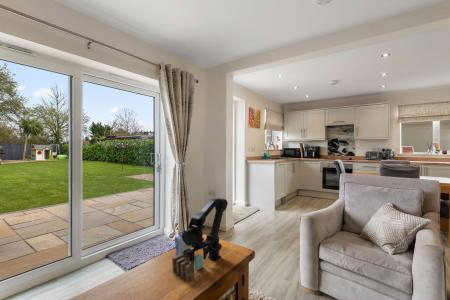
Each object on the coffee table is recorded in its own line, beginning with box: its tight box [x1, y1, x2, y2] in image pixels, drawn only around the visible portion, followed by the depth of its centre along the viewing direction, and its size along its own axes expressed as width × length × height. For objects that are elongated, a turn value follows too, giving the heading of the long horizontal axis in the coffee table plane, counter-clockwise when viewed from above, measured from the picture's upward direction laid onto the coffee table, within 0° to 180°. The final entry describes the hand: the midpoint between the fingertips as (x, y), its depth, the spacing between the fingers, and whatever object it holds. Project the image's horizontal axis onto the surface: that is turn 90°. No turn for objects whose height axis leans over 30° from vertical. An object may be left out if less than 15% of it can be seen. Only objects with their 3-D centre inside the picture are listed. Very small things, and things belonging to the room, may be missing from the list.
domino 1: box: [171, 255, 182, 273], centre depth 129 cm, size 2×5×8 cm, turn 136°
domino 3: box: [180, 259, 190, 279], centre depth 123 cm, size 2×5×8 cm, turn 136°
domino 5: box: [194, 253, 204, 272], centre depth 130 cm, size 2×5×8 cm, turn 136°
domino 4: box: [185, 262, 196, 283], centre depth 120 cm, size 2×5×8 cm, turn 137°
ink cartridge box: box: [174, 231, 192, 257], centre depth 150 cm, size 10×6×14 cm, turn 131°
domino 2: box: [176, 257, 186, 276], centre depth 126 cm, size 2×5×8 cm, turn 137°
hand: (198, 262), depth 130 cm, fingers open, 9 cm apart
